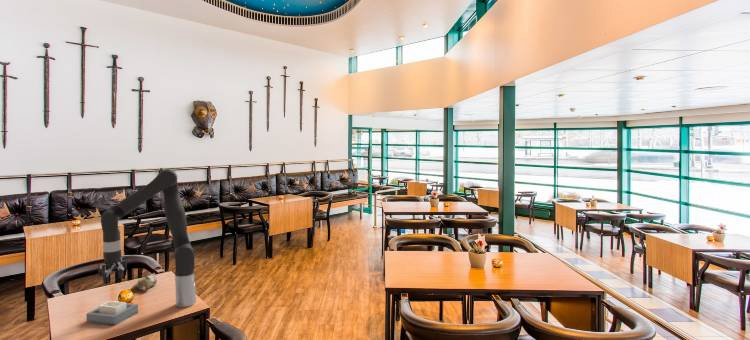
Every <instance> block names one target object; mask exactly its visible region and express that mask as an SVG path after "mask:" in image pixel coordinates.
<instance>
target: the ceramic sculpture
mask: <svg viewBox="0 0 750 340" xmlns="http://www.w3.org/2000/svg"><path fill="white" fill-rule="evenodd" d="M156 276H157V275H156V273H155V272H153V273H151V274H148V275H147V274H145V275H144V276H143V277H141V278H140V279H138V281H137V283H135V284H134V285H133V286H132V287H131V288H130V289H131V290H130V291H137V290H142V292H146V291H149V289H150V287H153V286H156V285H157V281H158V279H157V277H156Z"/></svg>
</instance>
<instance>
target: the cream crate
mask: <svg viewBox="0 0 750 340" xmlns="http://www.w3.org/2000/svg"><path fill="white" fill-rule="evenodd" d="M126 303H127V302H126V301H114V300H108V301H106V302H104V303H102V304H100V305H98V308H99V313H101V314H110V315H115V314H117V313H119V312H121V311H123V310H125V309H127V307H126Z"/></svg>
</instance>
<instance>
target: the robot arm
mask: <svg viewBox="0 0 750 340" xmlns="http://www.w3.org/2000/svg"><path fill="white" fill-rule="evenodd" d="M178 183H179V182H178V174H177V173H176V171H175V170H173V169H170V168H164V169H162V170H160V171H159V172H158V174H157V176H156V177H155V178H153V179H152V180H151V181H150V182H149V183H148V184H146V185H145V186H144V187H141V188H140V189H138V190H137V191H134V192H133V193H131V194H130V195H128V196H127V197H125V198H124V199H122V200H121V201H120V202H118V203H117V204H115V205H114V206H112V207H110V208H109V209H108V210H106V211H104V213H102V214H101V215H100V216H101V217H100V227H101V230H102V255H103V257H102V258H103V260H104V263H103V264H98V277H100V278H102V283H103V284H104V285H109V283H110V282H109V281H110V280H109V275H110V274H111V273H112V271H113V270H117V272H118V278H119V279H123V278H124V276H125V275H124V274H125V273H124V270H125V269H128V268H127V267H128V261H127V256H123V255H122V252H123V251H122V242H121V231H120V229H119V220H121V219H122V218H123V217H125V216H126V215H127V214H129V213H132V211H134V210H136V209H137V208H139V207H141V206H142V205H143V204H145V203H146V202H147V201H148V200H150V198H152V197H153V196H155V195H157V194H158V193H160V192H162V195H163V199H164V200H163V203H164V204H163V205H164V214H165V218H166V223H167V225H168V226H167V227H168V228H169V229H168V230H169V231H170V234H171V237H172V241H173V251H174V254H173V255H174V263H175V266H174V267H175V269H174V270H175V271H174V275H175V276H174V277H175V278H174V280H175V282H174V283H175V307H176V308H181V309H182V308H189V307H192V306H193V305H195V303H196V301H197V297H196V295H197V294H196V284H195V265H196V264H195V262H196V261H195V251H194V248H193V246H192V245H191V241H190V239H189V236H188V224H187V223H188V221H187V216H186V210H185V208H184V205H183V203H184V202H183V201H182V198H181V195H180V192H179V184H178ZM188 306H189V307H188Z"/></svg>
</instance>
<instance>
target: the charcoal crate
mask: <svg viewBox="0 0 750 340" xmlns="http://www.w3.org/2000/svg"><path fill="white" fill-rule="evenodd" d="M126 307H127V309H125V310H123V311H121V312H119V313H117V314H115V315H110V314H101V313H99V307H97V308H95V309H93V310H91V311H88V312H87V313H86V314H85V315H86V323H87V324H88V323H89V324H96V325H103V326H104V325H105V326H117V325H119V324H120V323H122V322H124V321H126V320H127V319H130V318H131V317H133V316H135V315H137V314H138V313H139V304H137V303H130V302H129V303H128V302H126Z"/></svg>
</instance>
